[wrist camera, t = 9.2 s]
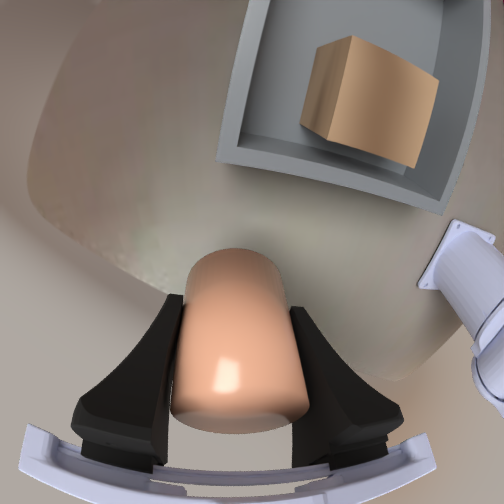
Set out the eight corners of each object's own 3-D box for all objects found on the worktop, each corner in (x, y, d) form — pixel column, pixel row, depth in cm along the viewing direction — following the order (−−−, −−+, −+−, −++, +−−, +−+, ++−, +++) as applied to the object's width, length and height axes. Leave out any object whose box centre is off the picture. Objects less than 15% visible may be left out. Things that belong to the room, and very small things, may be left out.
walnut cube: (389, 75, 13) (439, 80, 8) (370, 144, 15) (414, 168, 11) (317, 47, 12) (352, 35, 8) (299, 123, 14) (327, 139, 10)
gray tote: (446, -4, 8) (490, -9, 4) (403, 184, 18) (442, 215, 14) (276, -81, 6) (290, -117, 2) (219, 140, 15) (215, 161, 11)
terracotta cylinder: (293, 255, 13) (332, 383, 8) (269, 322, 16) (285, 432, 10) (189, 242, 12) (165, 378, 7) (185, 314, 15) (172, 429, 9)
